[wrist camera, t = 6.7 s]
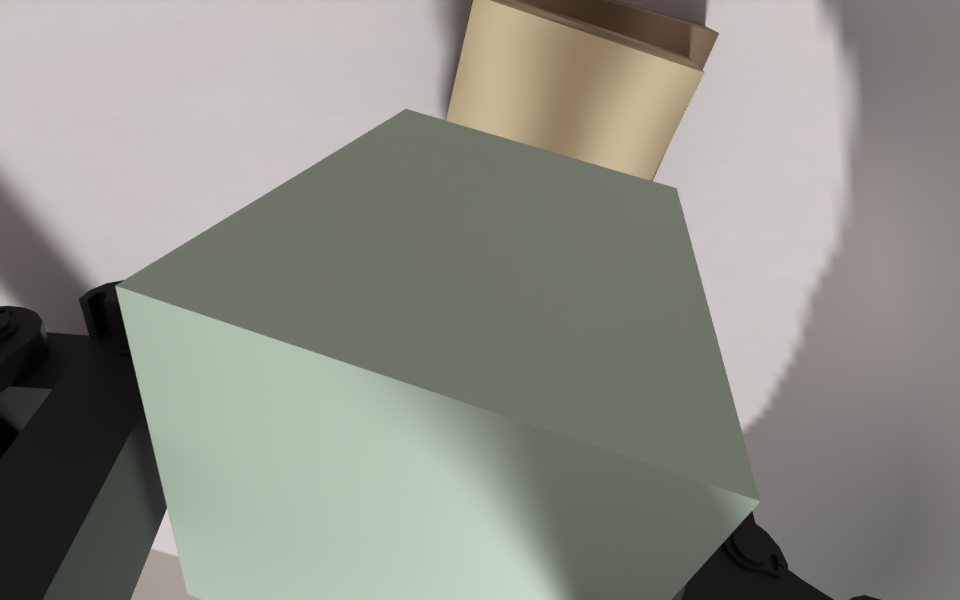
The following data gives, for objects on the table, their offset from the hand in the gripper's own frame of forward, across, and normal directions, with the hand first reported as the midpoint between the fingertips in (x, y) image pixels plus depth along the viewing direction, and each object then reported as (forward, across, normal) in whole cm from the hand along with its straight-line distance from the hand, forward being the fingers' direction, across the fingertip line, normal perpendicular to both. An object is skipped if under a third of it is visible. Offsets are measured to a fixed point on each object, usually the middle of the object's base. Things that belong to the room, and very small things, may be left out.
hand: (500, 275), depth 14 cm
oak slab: (+17, 0, 0) cm, 17 cm away
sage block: (+1, 0, 0) cm, 1 cm away
